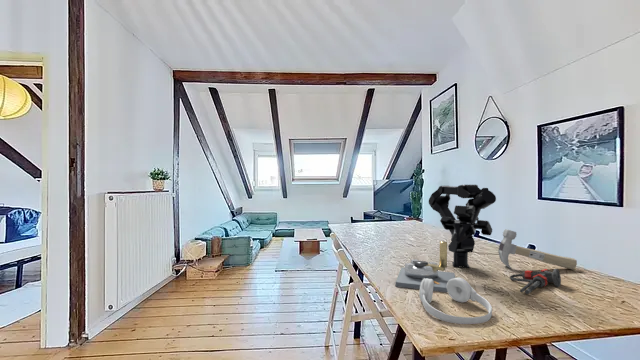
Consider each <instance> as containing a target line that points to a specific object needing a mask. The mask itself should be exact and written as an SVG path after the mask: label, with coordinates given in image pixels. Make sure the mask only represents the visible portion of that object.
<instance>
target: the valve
mask: <svg viewBox="0 0 640 360" xmlns="http://www.w3.org/2000/svg"><path fill="white" fill-rule="evenodd" d="M519 277H520V278H519ZM561 277H562V276H561V272H560V271H559V269H558V268H554V269H553V271H550V270H548V269H547V268H543V269H541V270H540V271H533V270H525V271H523V272H521V273H515V274H511V275H510V276H509V279H510V280H511V281H515V282H524V283H526V285H524V286H523V287H522V288H520V289H519V292H520V293H524V292H525V294H526V295H529V294H531V292H532V291H534V290H535V289H536V288H544V287H546V286H547V285H548V283H549V284H550V283H551V284H554V286H555V287H556V288H559V287H560V286H561V285H562V278H561Z"/></svg>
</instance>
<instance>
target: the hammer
mask: <svg viewBox="0 0 640 360" xmlns="http://www.w3.org/2000/svg"><path fill="white" fill-rule="evenodd" d="M502 236H503V239H502V240H500V244H499V246H498V251H497V253H498V257H499V260H500V262H501V263H502V264H503V265H505V267H507V268H509V269H512V267H511V265H510V262H509V255H510V254H511V255H519V256H522V257H525V258H528V259H529V258H530V259H533V260H536V261H539V262H542V263H545V264H549V265H554V266H557V267H561V268H564V269H567V270H568V269H569V270H572V271H573V270H575V269H576V267H577V265H578V263H577V259H575V258H573V257H568V256H561V255H556V254H553V253H549V252H544V251H541V250H536V249H532V248H528V247H523V246H520V245H519V246H518V245H517V244H514V243H512V241H513V240H515V239H516V238H517V232H516V231H514V230H511V229H508V228H505V229H504V230H503V232H502Z"/></svg>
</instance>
